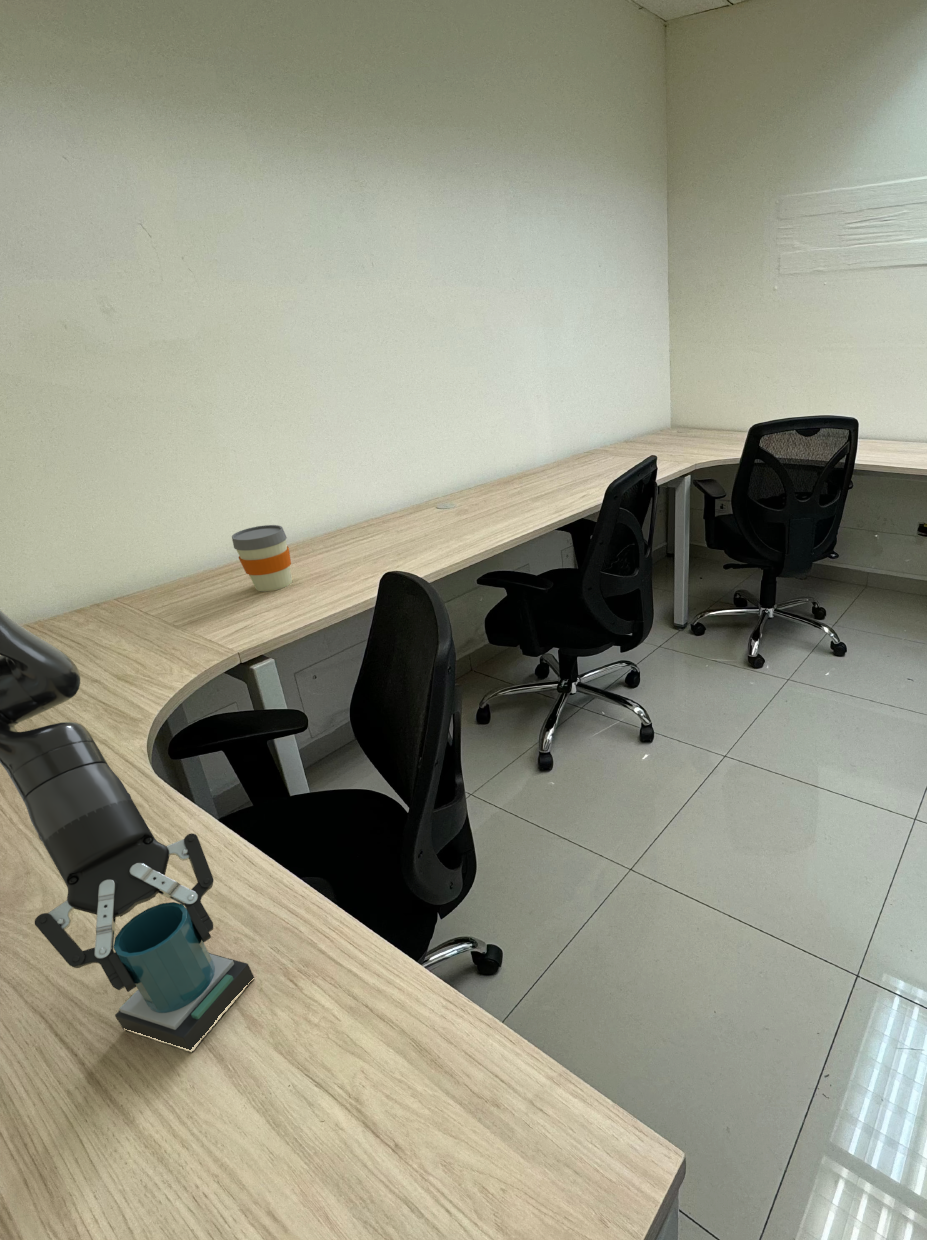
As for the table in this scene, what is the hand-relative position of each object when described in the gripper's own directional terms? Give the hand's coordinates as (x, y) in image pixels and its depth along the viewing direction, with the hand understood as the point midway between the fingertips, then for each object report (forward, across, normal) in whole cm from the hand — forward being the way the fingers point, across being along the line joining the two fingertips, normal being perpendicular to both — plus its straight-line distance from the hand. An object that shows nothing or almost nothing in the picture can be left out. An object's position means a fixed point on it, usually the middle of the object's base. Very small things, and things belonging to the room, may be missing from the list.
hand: (170, 962), depth 63 cm
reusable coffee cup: (-77, +58, +87) cm, 130 cm away
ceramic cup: (+2, 0, +5) cm, 5 cm away
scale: (+4, 0, +7) cm, 8 cm away
